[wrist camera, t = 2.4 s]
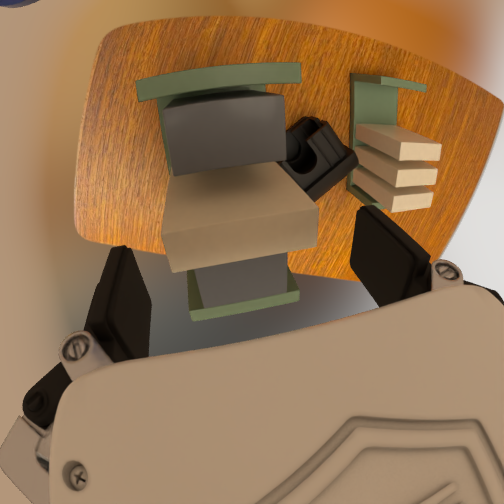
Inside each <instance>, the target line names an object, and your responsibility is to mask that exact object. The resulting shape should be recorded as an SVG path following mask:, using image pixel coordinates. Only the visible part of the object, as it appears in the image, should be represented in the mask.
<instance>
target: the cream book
mask: <svg viewBox="0 0 504 504" xmlns="http://www.w3.org/2000/svg"><path fill="white" fill-rule="evenodd" d="M318 217H319V207H318V206H317V205H316V204H315V203H314V202H313V201H312V200H311V198H310V197H309V196H308V195H307V194H306V193H305V192H304V191H303V190H302V189H301V188H300V187H299V186H298V185H297V183H296V182H295V181H294V180H293V179H292V178H291V177H290V176H289V175H288V174H287V173H286V172H285V171H284V170H283V169H282V168H281V167H280V166H279V165H278V164H277V163H276V162H266V163H258V164H250V165H242V166H235V167H228V168H222V169H215V170H209V171H203V172H197V173H191V174H186V175H180V176H173V171H172V167H171V172H170V178H169V183H168V189H167V195H166V202H165V208H164V215H163V222H162V230H161V237H162V240H163V244H164V247H165V251H166V254H167V258H168V261H169V264H170V268H171V271H172V273H174V272H180V271H185V270H191V269H197V268H202V267H208V266H213V265H219V264H224V263H230V262H236V261H241V260H247V259H252V258H258V257H263V256H269V255H274V254H280V253H285V252H290V251H296V250H301V249H307V248H312V247H316V246H317V233H318Z"/></svg>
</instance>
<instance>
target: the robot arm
mask: <svg viewBox="0 0 504 504" xmlns="http://www.w3.org/2000/svg"><path fill="white" fill-rule="evenodd" d="M430 257H431V256H430V255H429V254H428V253H427V252H426V251H425V250H424V249H423V248H422V247H421V246H420V245H419V244H418V243H417V242H416V241H415V240H414V239H412V238H411V237H410V236H409V235H408V234H407V233H406V232H405V231H404V230H403V229H401V228H400V227H399V226H398V225H397V224H396V223H395V222H394V221H392V220H391V219H390V218H389V217H388V216H387V215H385V214H384V213H383V212H382V211H381V210H380V209H378V208H377V207H376V206H375V205H367V206H361V207H360V209H359V210H358V211H357V214H356V221H355V229H354V236H353V243H352V250H351V256H350V266H351V268H352V270H353V271H354V273H355V274H356V275H357V277H358V278H359V279H360V281H361V282H362V283H363V285H364V286H365V288H366V289H367V290H368V292H369V293H370V295H371V296H372V297H373V299H374V300H375V302H376V303H377V305H378V306H379V308H376V309H373V310H370V311H366V312H362V313H359V314H355V315H352V316H348V317H345V318H341V319H337V320H334V321H330V322H326V323H322V324H318V325H314V326H311V327H306V328H302V329H299V330H294V331H290V332H285V333H281V334H277V335H272V336H267V337H263V338H258V339H253V340H248V341H244V342H238V343H233V344H228V345H222V346H217V347H211V348H205V349H199V350H193V351H186V352H180V353H174V354H167V355H160V356H153V357H148V356H149V336H150V321H151V308H152V307H151V306H152V304H151V299H150V296H149V294H148V291H147V289H146V286H145V284H144V281H143V278H142V276H141V273H140V270H139V268H138V265H137V262H136V260H135V257H134V254H133V251H132V249H131V248H127V247H126V245H122V246H117V247H113V248H111V250H110V253H109V256H108V259H107V262H106V265H105V267H104V270H103V273H102V276H101V279H100V282H99V283H98V284H97V287H96V289H95V292H94V295H93V299H92V302H91V305H90V309H89V313H88V316H87V319H86V324H85V327H84V331H76V332H73V333H71V334H70V335H68V336H67V337H66V338H65V339H64V340H63V341H62V343H61V344H60V347H59V354H58V355H59V358H60V360H61V362H60V363H59V364H57V365H56V366H55V367H54V368H53V369H52V370H51V371H50V372H49V373H47V374H46V375H45V376H44V377H43V378H42V379H41V380H40V381H38V382H37V383H36V384H35V385H34V386H33V387H32V388H31V389H30V390H29V391H28V392H27V393H26V395H25V397H24V400H23V411H24V415H23V417H21V416H18V418H17V420H16V421H15V423H14V425H13V426H12V428H11V430H10V431H9V433H8V435H7V437H6V439H5V441H4V442H3V444H2V446H1V448H0V467H1V469H2V471H3V472H4V473H5V474H6V475H7V477H8V478H9V479H10V480H11V481H12V482H13V483H14V485H15V486H16V487H17V488H18V489H19V490H20V491H21V492H22V493H23V494H24V495H25V496H26V497H27V498H28V499H29V500H30V501H31V502H32V503H33V504H504V301H503V300H502V298H501V296H500V295H499V294H498V293H497V292H496V291H494V290H491V289H488V288H485V287H482V286H479V285H476V284H473V283H471V282H468V281H465V280H463V275H462V272H461V270H460V269H459V267H457V266H456V265H455V264H454V263H452V262H450V261H447V260H442V259H440V260H435V261H434V262H433V263H432V265H431V264H430V263H429V260H430Z"/></svg>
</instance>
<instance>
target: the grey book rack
mask: <svg viewBox="0 0 504 504" xmlns="http://www.w3.org/2000/svg"><path fill="white" fill-rule="evenodd" d="M301 82H302V80H301V63H297V62H272V63H247V64H233V65H222V66H213V67H205V68H197V69H191V70H184V71H178V72H173V73H168V74H162V75H158V76H153V77H148V78H144V79H140V80H136V89H137V96H138V102H143V101H147V100H151V99H156V98H157V105H158V112H159V118H160V125H161V131H162V137H163V143H164V148H165V154H166V159H167V165H168V170H169V175H170V172H171V167H172V171H173V176H180V175H186V174H191V173H197V172H203V171H209V170H215V169H222V168H228V167H235V166H242V165H250V164H258V163H266V162H275V161H285V160H286V128H285V104H284V95H280V94H274V93H269V92H266V88H265V84H286V83H301ZM187 284H188V303H189V313H190V316H191V319H192V321H199V320H205V319H210V318H216V317H222V316H227V315H232V314H238V313H243V312H247V311H252V310H257V309H263V308H268V307H272V306H277V305H281V304H286V303H291V302H295V301H299V293H300V290H299V288H298V286H297V284H296V281H295V280H294V278H293V275H292V273H291V271H290V269H289V267H288V265H287V252H285V253H280V254H274V255H269V256H263V257H258V258H252V259H247V260H241V261H236V262H230V263H224V264H219V265H213V266H208V267H202V268H197V269H191V270H187Z"/></svg>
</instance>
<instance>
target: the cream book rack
mask: <svg viewBox="0 0 504 504" xmlns="http://www.w3.org/2000/svg"><path fill="white" fill-rule="evenodd" d="M398 87H400V88H406V89H411V90H416V91H421V92H426V84H421V83H417V82H412V81H407V80H402V79H397V78H391V77H385V76H378V75H367V74H355V73H350V88H351V102H350V142H349V148H350V149H352V150H354V151H355V153H356V155H357V157H358V160H359V165H358V166H357V167H356V168H355V169H354V170H352V171H351V172H350V173H349V174H348V176H347V190H348V191H349V192H350V193H352V194H353V195H354V196H355V197H356V198H358V199H359V200H360V201H361V202H362V203H363V204H365V205H366V206H367V205H375V206H376V207H377V208H378V209H385V208H386V209H387V210H389V211H390V212H391V213H393V212H399V211H406V210H413V209H420V208H427V207H430V206H431V202H432V197H433V192H432V191H431V190H429V189H428V188H426V187H424V186H423V185H434V184H435V182H436V177H437V171H438V169H437V168H435V167H433V166H432V165H430V164H428V163H426V162H424V161H422V160H436V161H439V159H440V153H441V145H442V144H440V143H438V142H435V141H433V140H431V139H429V138H426V137H424V136H421V135H419V134H417V133H414V132H412V131H409V130H407V129H404V128H401V127H399V126H396V121H397V101H398Z"/></svg>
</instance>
